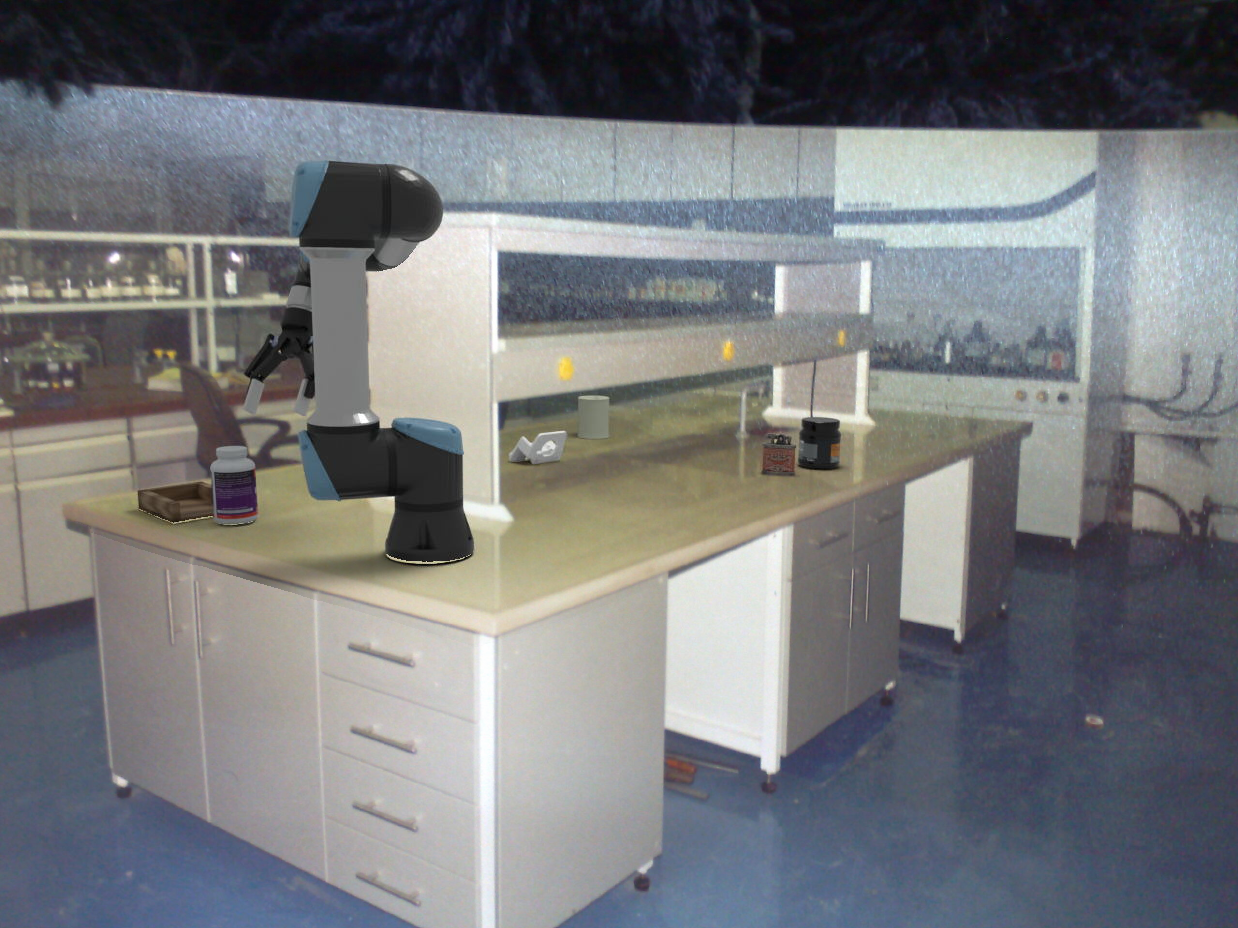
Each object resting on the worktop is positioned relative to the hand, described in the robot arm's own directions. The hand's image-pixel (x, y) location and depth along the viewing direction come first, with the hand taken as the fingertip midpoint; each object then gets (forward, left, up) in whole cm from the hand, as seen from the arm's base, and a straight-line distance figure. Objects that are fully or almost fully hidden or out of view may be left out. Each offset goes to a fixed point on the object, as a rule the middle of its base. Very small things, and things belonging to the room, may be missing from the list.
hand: (273, 413), depth 202 cm
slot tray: (+14, +12, -20) cm, 27 cm away
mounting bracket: (+7, -75, -21) cm, 78 cm away
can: (+26, -113, -21) cm, 118 cm away
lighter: (-43, -108, -21) cm, 118 cm away
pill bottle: (0, +9, -21) cm, 22 cm away
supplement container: (-44, -124, -21) cm, 133 cm away
